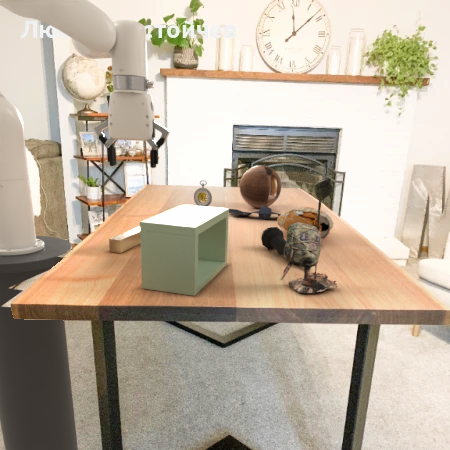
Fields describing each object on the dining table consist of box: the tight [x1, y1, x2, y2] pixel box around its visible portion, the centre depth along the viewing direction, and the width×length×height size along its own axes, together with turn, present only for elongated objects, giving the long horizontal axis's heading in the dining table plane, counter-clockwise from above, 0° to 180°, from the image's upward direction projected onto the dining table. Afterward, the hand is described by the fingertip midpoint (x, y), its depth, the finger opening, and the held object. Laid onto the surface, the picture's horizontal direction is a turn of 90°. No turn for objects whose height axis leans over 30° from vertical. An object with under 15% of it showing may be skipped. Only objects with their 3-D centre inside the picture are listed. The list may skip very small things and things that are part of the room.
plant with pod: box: [280, 176, 338, 294], centre depth 79 cm, size 8×11×20 cm
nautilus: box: [276, 206, 335, 240], centre depth 118 cm, size 8×22×15 cm
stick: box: [108, 225, 141, 254], centre depth 107 cm, size 3×16×3 cm, turn 164°
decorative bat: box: [229, 205, 282, 220], centre depth 144 cm, size 30×4×10 cm
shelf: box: [139, 203, 230, 297], centre depth 85 cm, size 10×20×12 cm, turn 164°
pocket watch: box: [193, 180, 213, 207], centre depth 150 cm, size 8×8×10 cm
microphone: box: [260, 226, 303, 268], centre depth 101 cm, size 6×6×20 cm
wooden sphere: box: [239, 164, 282, 209], centre depth 160 cm, size 15×15×15 cm
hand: (133, 166), depth 104 cm, fingers open, 9 cm apart
